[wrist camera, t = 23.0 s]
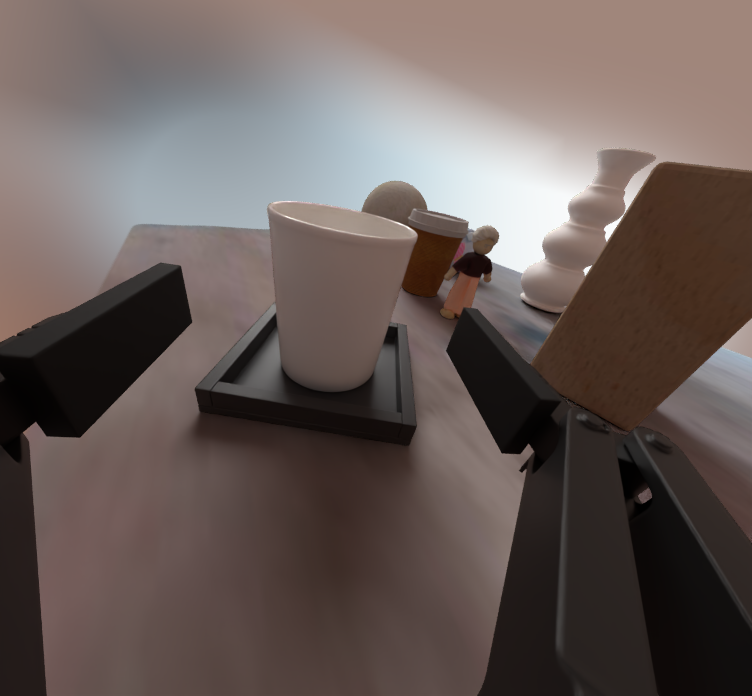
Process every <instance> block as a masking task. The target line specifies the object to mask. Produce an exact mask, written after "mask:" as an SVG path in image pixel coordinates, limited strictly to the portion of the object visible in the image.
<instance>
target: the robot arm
mask: <svg viewBox="0 0 752 696" xmlns="http://www.w3.org/2000/svg"><path fill="white" fill-rule="evenodd" d="M191 323H192V319H191V314H190V309H189V304H188V299H187V294H186V289H185V284H184V279H183V274H182V269H181V266H179V265H173V264H166V263H159V264H157V265H155V266H153V267H151V268H150V269H148V270H146V271H144V272H142V273H140V274H138V275H136V276H134V277H133V278H131V279H129V280H127V281H125V282H123V283H121V284H119V285H117V286H116V287H114V288H112V289H110V290H108V291H106V292H104V293H102V294H100V295H98V296H97V297H95V298H93V299H91V300H89V301H87V302H85V303H83V304H81V305H80V306H78V307H76V308H74V309H72V310H70V311H68V312H65V313H62V314H59V315H56V316H52V317H49V318H47V319H45V320H43V321H41V322H39V323H37V324H35V325H33V326H32V328H27V329H25V330H23V331H22V332H19V333H18V334H17V336H12V337H10V338H8V339H6V340H4V341H2V342H0V696H47V694H46V679H45V665H44V650H43V636H42V621H41V607H40V593H39V578H38V564H37V549H36V535H35V520H34V506H33V491H32V477H31V462H30V448H29V441H28V439H27V438H26V436H25V435H24V434H23V432H24V431H25V430H26V429H27V428H29V427H30V426H31V425H32V424H33V423H35V422H37V424H38V425H39V426H40V428H41V429H42V430H43V432H44V433H45V435H46V436H51V437H78V438H80V437H81V436H82V435H83V434H84V433H85V432H86V431H87V430H88V429H89V428H90V427H91V426H92V425H93V424H94V423H95V422H96V421H97V420H98V419H99V418H100V417H101V416H102V414H103V413H104V412H105V411H106V410H107V409H108V408H109V407H110V406H111V405H112V404H113V403H114V402H115V401H116V400H117V399H118V398H119V397H120V396H121V395H122V394H123V393H124V392H125V391H126V390H127V389H128V388H129V387H130V386H131V385H132V384H133V383H134V382H135V381H136V380H137V379H138V378H139V376H140V375H141V374H142V373H143V372H144V371H145V370H146V369H147V368H148V367H149V366H150V365H151V364H152V363H153V362H154V361H155V360H156V359H157V358H158V357H159V356H160V355H161V354H162V353H163V352H164V351H165V350H166V349H167V348H168V347H169V346H170V345H171V344H172V343H173V342H174V341H175V340H176V338H177V337H178V336H179V335H180V334H181V333H182V332H183V331H184V330H185V329H186V328H187V327H188V326H189V325H190V324H191ZM446 352H447V353H448V355H449V357H450V359H451V361H452V363H453V364H454V366H455V368H456V370H457V372H458V374H459V375H460V377H461V379H462V381H463V383H464V385H465V386H466V388H467V390H468V392H469V394H470V396H471V397H472V399H473V401H474V403H475V405H476V407H477V408H478V410H479V412H480V414H481V416H482V418H483V420H484V421H485V423H486V425H487V427H488V429H489V431H490V432H491V434H492V436H493V438H494V440H495V442H496V443H497V445H498V447H499V449H500V451H501V453H505V454H521V453H522V451H523V450H524V449H525V447H526V446H527V445H528V444H530V446H531V447H532V449H533V450H534V453H533V454H532V455H531V456H530V457H529V459H528V460H527V461H526V462H525V463H524V465H523V466H522V467H521V469H520V470H519V471H520V472H523V471H524V470H525V469H527V472H526V477H525V482H524V487H523V492H522V497H521V502H520V507H519V512H518V517H517V522H516V527H515V532H514V537H513V542H512V547H511V552H510V557H509V562H508V567H507V572H506V577H505V582H504V587H503V592H502V597H501V602H500V607H499V612H498V617H497V622H496V627H495V632H494V637H493V642H492V647H491V652H490V657H489V662H488V667H487V672H486V676H485V680H484V683H483V685H482V688H481V690H480V692H479V693H478V695H477V696H752V543H751V541H750V540H749V539H748V537H747V536H746V535H745V534H744V532H743V531H742V530H741V528H740V527H739V526H738V524H737V523H736V522H735V520H734V519H733V518H732V516H731V515H730V514H729V512H728V511H727V510H726V508H725V507H724V506H723V504H722V503H721V502H720V501H719V499H718V498H717V497H716V495H715V494H714V493H713V491H712V490H711V489H710V487H709V486H708V485H707V483H706V482H705V481H704V479H703V478H702V477H701V475H700V474H699V473H698V471H697V470H696V469H695V467H694V466H693V465H692V464H691V462H690V461H689V460H688V458H687V457H686V456H685V454H684V453H683V452H682V451H681V450H680V449H679V447H678V446H677V445H675V444H674V443H673V442H672V441H670V439H669V438H667V437H666V436H663V434H661V433H659V432H655V431H653V430H651V429H648V428H645V427H636V428H634V429H633V430H632V431H631V432H630V433H629V434H628V435H627V436H626V435H623V434H620V433H616V432H613V431H612V430H611V428H610V427H609V426H608V425H607V423H606V422H605V421H603V420H602V419H601V418H599V417H598V416H596V415H595V414H593V413H591V412H589V411H587V410H584V409H582V408H576V407H574V408H572V407H571V406H570V405H569V404H568V403H567V402H566V401H565V400H564V399H563V398H562V396H561V395H560V394H559V393H558V392H557V391H556V390H555V389H554V388H553V387H552V386H551V385H549V383H548V382H547V380H546V379H545V378H542V377H543V376H542V375H541V374H540V373H539V372H538V371H537V370H536V369H535V368H534V367H533V366H531V365H530V364H529V363H527V362H526V361H525V360H524V359H523V358H522V357H521V356H520V355H519V354H518V353H517V352H516V351H515V350H514V348H513V347H512V346H511V345H510V344H509V343H508V342H507V341H506V340H505V339H504V338H503V337H502V335H501V334H500V333H499V332H498V331H497V330H496V329H495V328H494V327H493V326H492V325H491V323H490V322H489V321H488V320H487V319H486V318H485V317H484V316H483V315H482V314H481V313H480V311H479V310H478V309H474V308H467V307H464V308H463V310H462V312H461V315H460V317H459V320H458V322H457V325H456V327H455V330H454V332H453V335H452V337H451V340H450V342H449V345H448V347H447V350H446ZM648 487H649V489H650V491H651V493H652V498H651V499H650V500H648V501H647V502H645V503H643V504H642V503H641V502H640V500H639V498H638V495H639V494H640V493H642V492H643V491H644V490H646V489H647V488H648Z"/></svg>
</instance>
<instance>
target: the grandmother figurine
mask: <svg viewBox="0 0 752 696" xmlns="http://www.w3.org/2000/svg"><path fill="white" fill-rule="evenodd" d="M472 236H473V238H472V239H471V241H472V242H473V250H474V252H468V253H466V254H465V255H463V256H462V257H461V258H460V259H459V260H458V261H457V262H455V263H454V264H453V265H452V267H451V268H450V269H449V271H448V273H446V274H445V275H444V279H445V280H447V281H449V280H451V278H452V276H454V275H455V274H456V273H457V272H459V271H460V273H459V277H458V278H457V280H456V282H455V283H454V285H453V287H452V289H451V290H450V292H449V294H448V297H447V299H446V302H445V304H444V307H445V308H443V309H441V310H440V312H441V315H442V316H443V317H445V318H448V319H453V318H454V317H455V316H457V317H458V318H459V317H460V315H461V312H462V310H463V308H464V307H467V308H471V306H472V303H473V299H474V296H475V292H476V289H477V286H478V282H479V280H480V277H481V275H482V273H484V278H483V280H484V282H490V281H491V272H492V263H491V260H490V259H489V258H488V257H487V256H485V254H487V253H489V252H490V251H491V250H492V248H493V246H494V245H495V244H496V243H497V242H498V239H499V233H498V232H497V230H496V229H495V228H493V227H492V226H488V225H487V226H482V227H480V228H478V229H477V230H476V231H475V232H474V233H473V235H472ZM454 315H455V316H454Z"/></svg>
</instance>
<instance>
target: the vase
mask: <svg viewBox="0 0 752 696" xmlns="http://www.w3.org/2000/svg"><path fill="white" fill-rule="evenodd" d="M597 158H598V165H599V168H598V172H597V174H596V176H595V178H594V180H593V182H592V184H591V185H588V187H587V188H586V189H585V190H584V191H583V192H581V193H579V194H578V195H576V196H575V197H573V198H572V199H571V201H570V203H569V205H568V211H569V214H570V220H569V221H568V222H565V223H564V224H563V225H562V226H560V227H559V228H556V229H554V230H552V231H551V232H549V233H548V234H547V235H546V237H545V238H544V240H543V244H542V247H543V251H544V253H545V259H544V260H542V261H540V262H538V263H535V264H533V265H531V266H530V267H528V268H527V269H526V270H525V271H524V273H523V275H522V277H521V285H522V288H523V290H524V293H522V294H521V298H522V300H523V301H525V302H526V303H528V304H529V305H531V306H534V307H536V308H538V309H541V310H545V311H548V312H554V313H561V312H563V311H564V310H565V307H564V306H567V305H568V303H569V302H570V300H571V299H572V297H573V295H574V294H575V292H576V291H577V289H578V287H579V286H580V284H581V283H582V281H583V280H584V278H585V275H584V272H583V270H584V269H585V268H586V267H588V266H591V265H593V264H594V262H595V260H596V259H597V257H598V256H599V254H600V252H601V251H602V249H603V248H604V246H605V245H606V243H607V242H606V240H605V233H606V232H605V231H604V228H605V226H606V225H608V224H610V223H612V222H614V221H616V220H617V219H619V218H620V217H621V216H622V215H623V214H624V211H625V203H624V200H623V197H624V194H625V191H624V189H625V187H626V186H627V184H628V182H629V181H630V179H631V178H632V176H633V175H634V174H635V173H637V172H638V171H639V170H641V169H642V168H644V167H645V166H647V165H648V164H650V163H651V162H653V161H654V160H655V159H656V157H655V155H653V154H651V153H648V152H645V151H640V150H635V149H626V148H604V149H600V150H598V151H597Z"/></svg>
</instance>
